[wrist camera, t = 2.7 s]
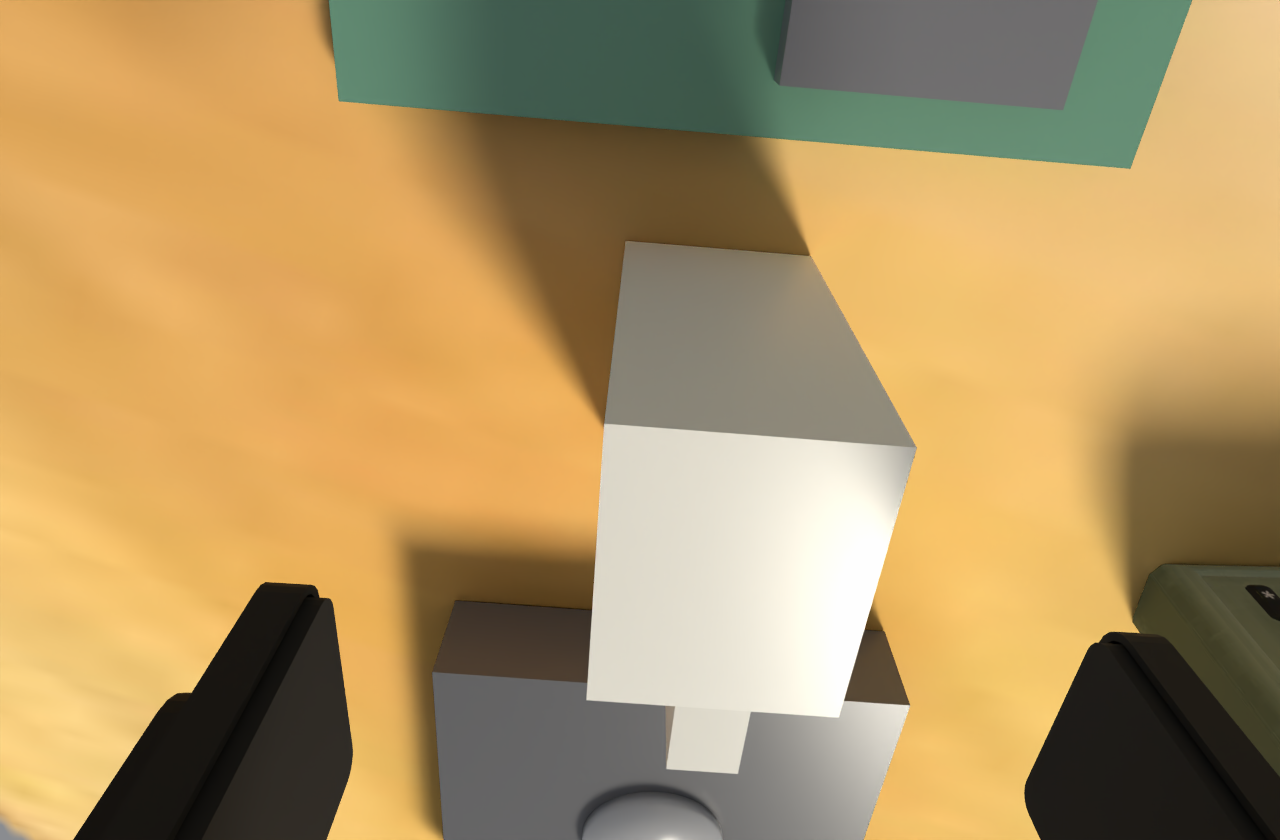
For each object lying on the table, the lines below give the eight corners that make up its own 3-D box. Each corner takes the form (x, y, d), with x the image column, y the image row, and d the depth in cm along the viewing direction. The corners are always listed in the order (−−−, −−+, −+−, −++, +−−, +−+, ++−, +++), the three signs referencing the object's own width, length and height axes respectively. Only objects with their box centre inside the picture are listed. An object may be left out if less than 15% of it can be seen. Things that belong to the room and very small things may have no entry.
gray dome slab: (912, 540, 21) (948, 621, 18) (807, 883, 28) (822, 975, 26) (451, 505, 21) (420, 583, 18) (467, 861, 28) (447, 952, 25)
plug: (810, 256, 17) (916, 448, 10) (764, 503, 20) (821, 779, 13) (625, 240, 17) (604, 423, 10) (607, 491, 20) (582, 763, 13)
